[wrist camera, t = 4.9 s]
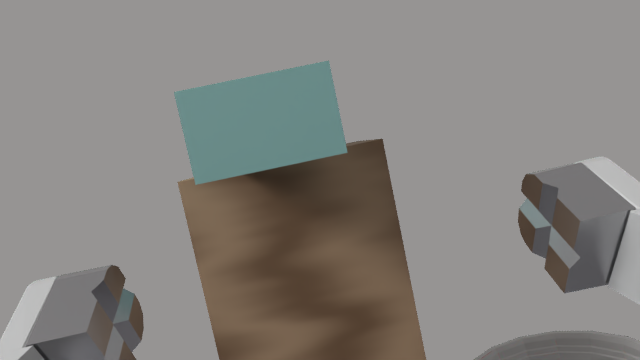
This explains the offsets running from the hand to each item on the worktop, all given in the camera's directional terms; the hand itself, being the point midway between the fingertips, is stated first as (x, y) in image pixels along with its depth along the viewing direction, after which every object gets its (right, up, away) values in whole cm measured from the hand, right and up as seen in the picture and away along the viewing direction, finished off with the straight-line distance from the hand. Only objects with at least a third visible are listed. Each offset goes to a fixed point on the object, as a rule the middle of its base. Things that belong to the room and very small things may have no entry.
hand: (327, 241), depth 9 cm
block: (-2, +2, +13) cm, 13 cm away
